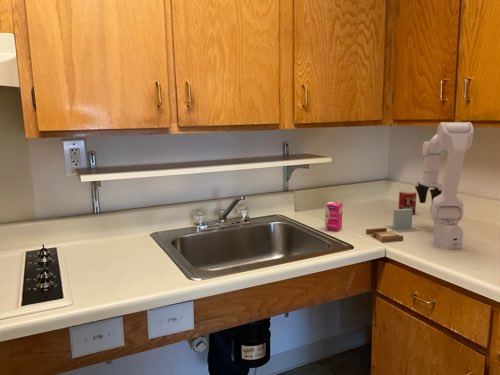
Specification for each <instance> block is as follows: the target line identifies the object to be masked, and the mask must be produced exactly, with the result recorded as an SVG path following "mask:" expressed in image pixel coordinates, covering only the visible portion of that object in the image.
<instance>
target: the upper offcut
mask: <svg viewBox="0 0 500 375" xmlns="http://www.w3.org/2000/svg"><path fill="white" fill-rule="evenodd" d="M377 236H378V237H380V238H381V237H390V236H400V233H398V232H396V231H394V232H389V231H387V232H384V233H377Z"/></svg>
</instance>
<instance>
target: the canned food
mask: <svg viewBox="0 0 500 375" xmlns="http://www.w3.org/2000/svg"><path fill="white" fill-rule="evenodd" d="M398 194H399V195H398V209H413V212H412V216H413V215H415V213H416V206H417V195H418V192H417V190H415V189H400V190H399V193H398Z"/></svg>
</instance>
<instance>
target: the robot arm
mask: <svg viewBox="0 0 500 375" xmlns="http://www.w3.org/2000/svg"><path fill="white" fill-rule="evenodd" d="M436 132H437V133H436V134H435V135H434V136H433V137H432V138H431V139H430V140H429V141H423V144H422V156H423V167H422V168H423V170H422V179H416V185H415V186H414V188H415V191H416V192H417V195H418V199H419V203H420V204H426V202H427V195H428V191H429V193H430V197H431V204H430V206H429V216H430V219H431V220H432V221H433V234H432V241H427V243H428V244H431V245H433V246H435V247H437V248H440V249H442V250H444V251H447V250H456V249H464V247H463V238H464V237H463V235H464V231H463V228H462V227H460V226H459V225H458V224H459V222H460V221H461V220H462V219H463V217H464V203H463V201H462V199H461V198H460V197H458V196H457V193H458V189H459V182H460V178H461V174H462V170H463V163H464V157H465V154H466V151H467V150H470V149H471V146H472V142H473V137H474V127H473V124H472V122H470V121H466V122H465V121H464V122H444V121H441V122H440V123H439V124H438V126H437V131H436ZM444 150H445V151H447V158H446V159H447V160H446V164H445V169H444V175H443V181H442V184H441V183H440V182H439V173H440V172H439V171H440V161H441V160H442V155H443V151H444ZM430 188H431V189H430Z"/></svg>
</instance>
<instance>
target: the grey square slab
mask: <svg viewBox="0 0 500 375" xmlns="http://www.w3.org/2000/svg"><path fill="white" fill-rule="evenodd" d="M412 212H413V209H393V219H392V220H393V221H392V226H393V229H395V230H397V229H410V228H412V227H413V226H412V225H413V215H412Z"/></svg>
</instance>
